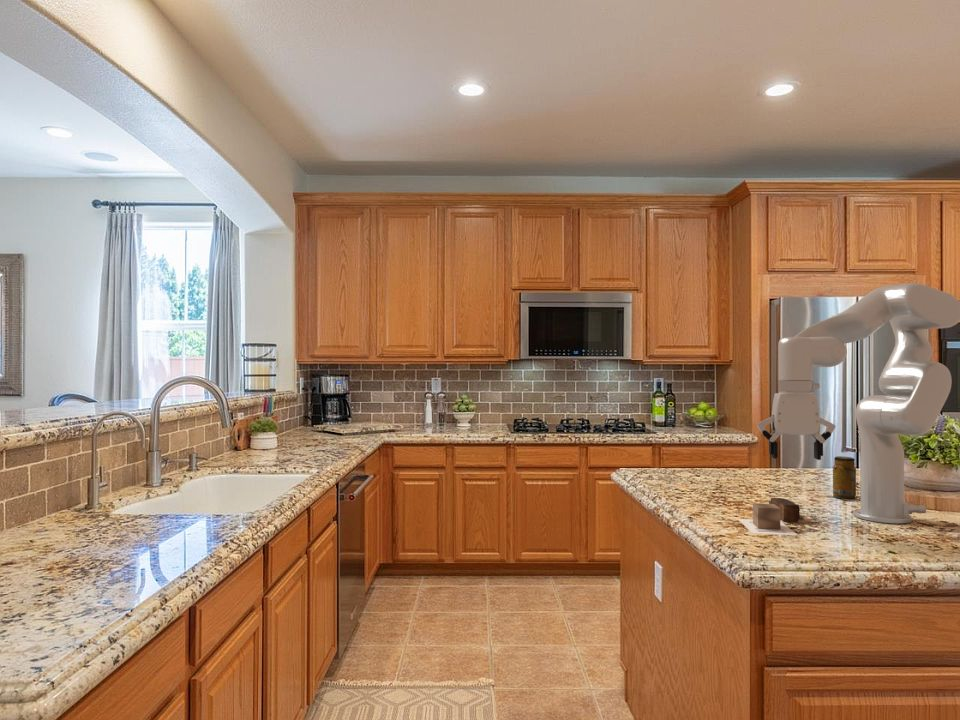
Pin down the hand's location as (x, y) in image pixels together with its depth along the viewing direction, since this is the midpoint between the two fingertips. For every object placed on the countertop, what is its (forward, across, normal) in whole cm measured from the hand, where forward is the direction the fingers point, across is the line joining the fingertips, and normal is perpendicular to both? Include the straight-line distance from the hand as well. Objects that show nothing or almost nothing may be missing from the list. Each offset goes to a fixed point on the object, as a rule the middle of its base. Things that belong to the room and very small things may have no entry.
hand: (795, 458), depth 154 cm
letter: (+17, +7, +1) cm, 18 cm away
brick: (+17, 0, -10) cm, 20 cm away
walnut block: (+17, +7, +1) cm, 18 cm away
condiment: (+17, -24, -41) cm, 51 cm away
